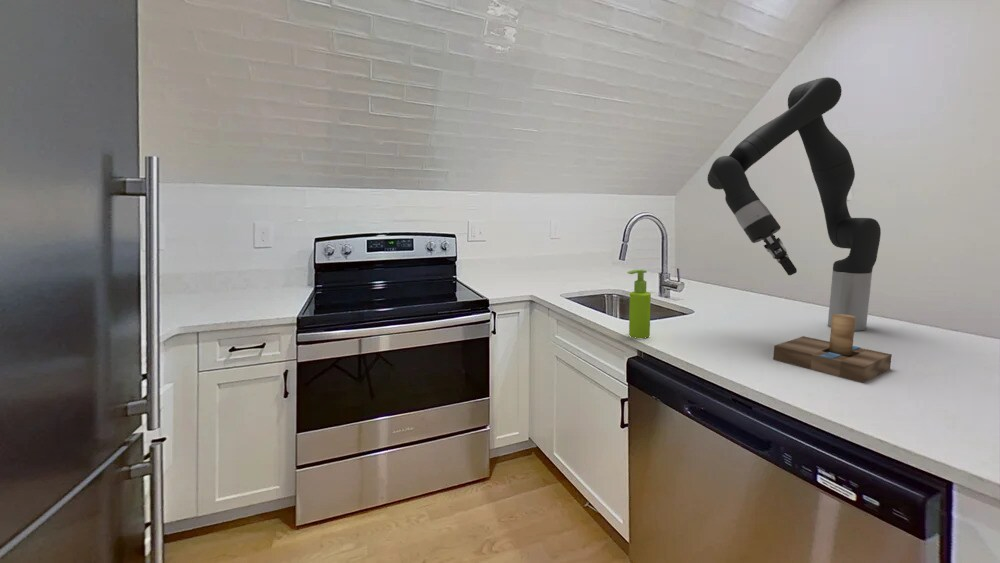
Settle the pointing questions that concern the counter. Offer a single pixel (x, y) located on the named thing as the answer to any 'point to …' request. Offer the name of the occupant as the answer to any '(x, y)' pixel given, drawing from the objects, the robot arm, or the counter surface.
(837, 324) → the upright wooden block
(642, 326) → the soap dispenser
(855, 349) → the board
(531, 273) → the counter surface
